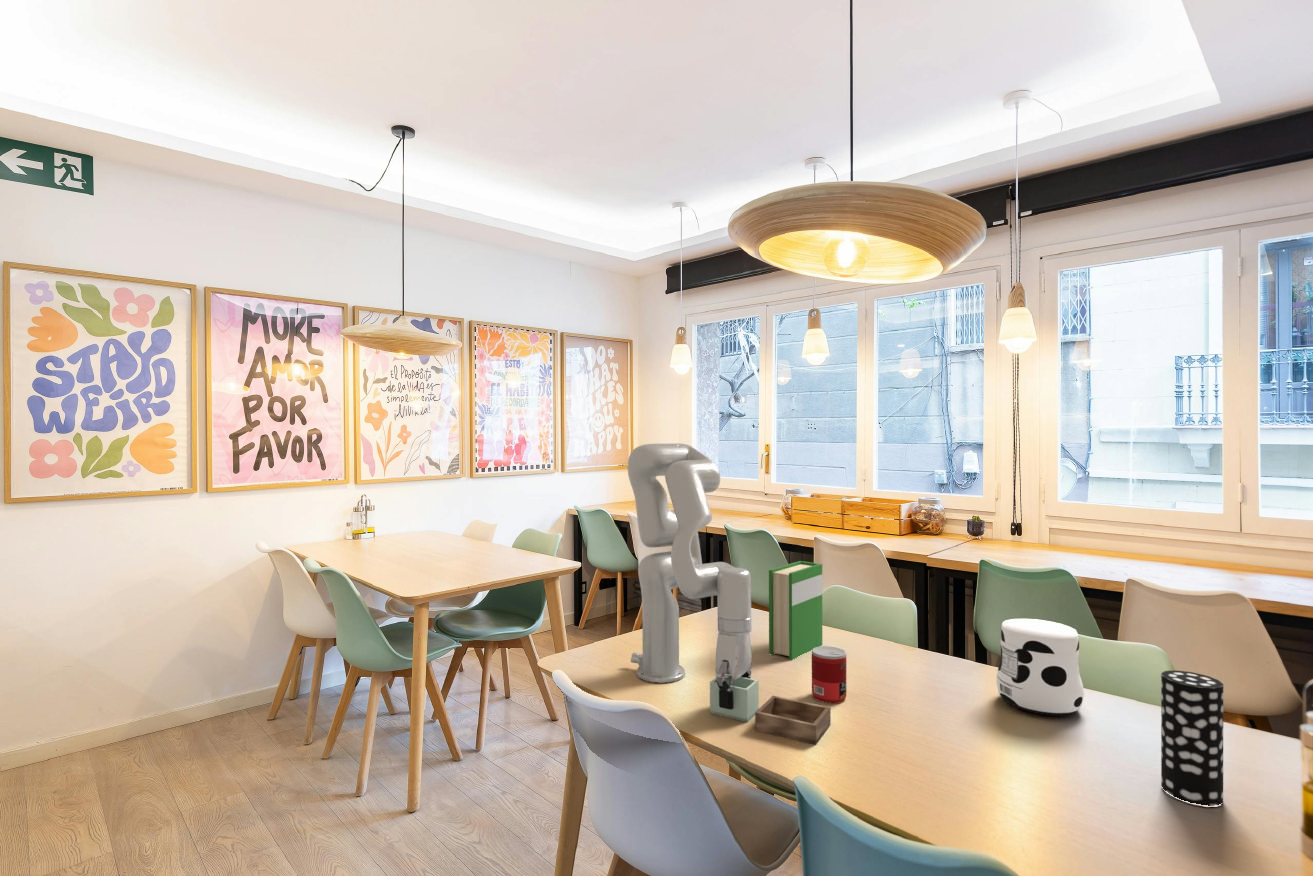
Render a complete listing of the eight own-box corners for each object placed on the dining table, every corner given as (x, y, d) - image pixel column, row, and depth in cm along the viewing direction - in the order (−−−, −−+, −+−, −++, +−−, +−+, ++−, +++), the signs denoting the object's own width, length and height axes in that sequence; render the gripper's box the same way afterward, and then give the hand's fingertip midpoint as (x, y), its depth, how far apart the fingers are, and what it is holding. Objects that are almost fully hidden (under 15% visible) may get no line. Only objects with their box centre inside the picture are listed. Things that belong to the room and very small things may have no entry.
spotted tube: (1149, 783, 118) (1149, 671, 118) (1192, 781, 119) (1192, 669, 119) (1190, 809, 110) (1190, 689, 110) (1236, 807, 110) (1237, 687, 110)
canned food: (847, 705, 153) (847, 657, 153) (812, 702, 154) (812, 655, 154) (845, 692, 160) (845, 647, 160) (811, 690, 162) (811, 645, 162)
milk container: (1091, 705, 152) (1091, 626, 152) (1074, 729, 140) (1074, 644, 139) (1008, 685, 164) (1008, 613, 164) (986, 707, 151) (986, 628, 151)
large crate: (755, 730, 140) (755, 712, 140) (772, 712, 149) (772, 695, 149) (815, 744, 133) (815, 726, 133) (830, 725, 142) (830, 707, 142)
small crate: (710, 713, 148) (709, 682, 148) (722, 703, 154) (722, 673, 154) (747, 722, 144) (747, 689, 144) (758, 711, 149) (758, 680, 149)
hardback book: (792, 660, 183) (791, 573, 183) (769, 654, 188) (768, 570, 188) (822, 645, 196) (822, 564, 196) (800, 639, 201) (799, 561, 201)
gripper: (734, 613, 158) (735, 685, 158) (702, 631, 143) (703, 711, 143) (764, 617, 154) (765, 691, 154) (734, 636, 139) (735, 718, 139)
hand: (735, 700), depth 149 cm, fingers open, 9 cm apart
